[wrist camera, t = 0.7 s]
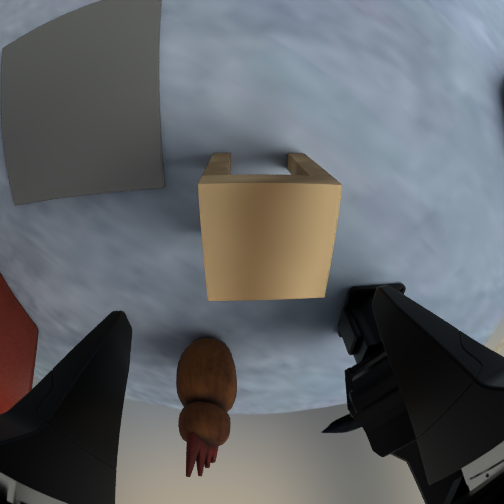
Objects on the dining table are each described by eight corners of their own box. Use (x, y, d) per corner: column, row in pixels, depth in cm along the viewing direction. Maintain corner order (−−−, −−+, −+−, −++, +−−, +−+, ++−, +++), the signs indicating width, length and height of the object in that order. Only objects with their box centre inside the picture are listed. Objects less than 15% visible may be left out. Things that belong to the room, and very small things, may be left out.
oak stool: (304, 153, 19) (342, 185, 12) (298, 234, 22) (324, 297, 15) (213, 153, 19) (197, 184, 12) (217, 235, 22) (208, 300, 15)
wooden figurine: (176, 329, 27) (152, 468, 14) (232, 326, 27) (232, 473, 14) (191, 368, 30) (179, 486, 18) (239, 366, 30) (242, 488, 18)
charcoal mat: (162, -12, 12) (160, -15, 11) (164, 185, 20) (163, 187, 19) (6, 48, 11) (2, 48, 10) (18, 203, 19) (14, 205, 18)
